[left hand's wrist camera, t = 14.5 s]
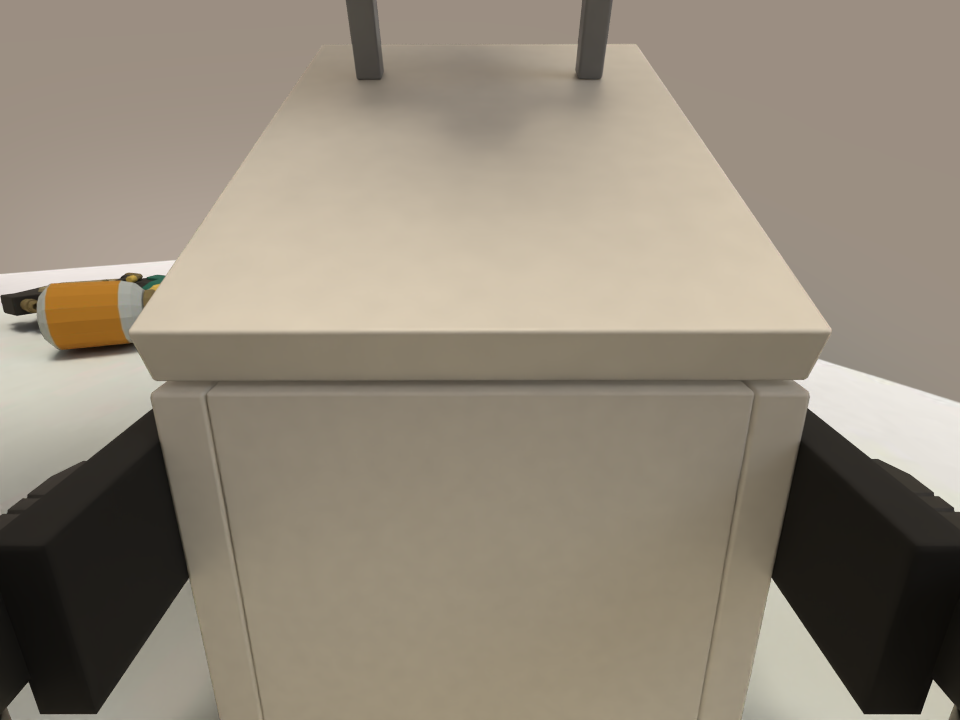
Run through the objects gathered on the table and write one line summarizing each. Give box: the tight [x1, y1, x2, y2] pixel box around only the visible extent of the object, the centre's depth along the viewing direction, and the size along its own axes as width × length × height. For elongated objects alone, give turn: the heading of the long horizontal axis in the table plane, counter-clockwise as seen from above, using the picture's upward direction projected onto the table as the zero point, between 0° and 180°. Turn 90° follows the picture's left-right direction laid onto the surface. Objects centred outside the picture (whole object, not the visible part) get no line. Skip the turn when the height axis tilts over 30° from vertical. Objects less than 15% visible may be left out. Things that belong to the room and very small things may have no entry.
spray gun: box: [0, 273, 165, 350], centre depth 43 cm, size 4×17×15 cm
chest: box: [151, 380, 810, 720], centre depth 17 cm, size 14×10×9 cm
